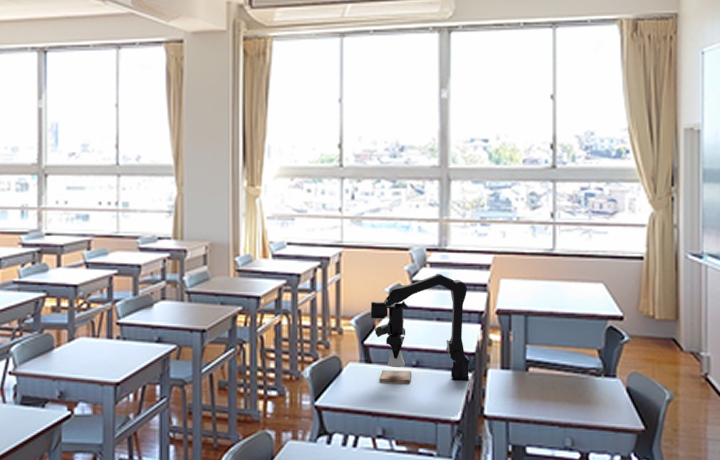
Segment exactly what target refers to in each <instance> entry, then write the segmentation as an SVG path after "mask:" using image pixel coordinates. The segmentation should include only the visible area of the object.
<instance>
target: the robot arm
mask: <svg viewBox="0 0 720 460" xmlns="http://www.w3.org/2000/svg"><path fill="white" fill-rule="evenodd" d="M436 286H437V287H438V286H442V287H444V288H446V289H447V290H450V296H451V301H452V315H451V336H450V339H448V340H446V349H445V350H446V352H447V353H448V355H449V358H450V359H451V361H452V365H451V368H450V369H451V371H450V377H451V378H452V380H453V381H469V380H470V379H469V378H470V376H469V364H470V363H471V361H470V359H469V358H468V356H467V355H466V354H465V348H464V343H463V339H462V337H463V335H462V334H463V311H464V302H465V299H466V296H467V291H468V289H467V288H468V287H467V285H466V284H465V283H464V282H463V281H462V280H460V279H452V278H449V277H448V276H444V275H443V274H442V273H436V274H435V275H433V276H430V277H427V278H424V279H421V280H419V281H416V282H412V283H411V284H410V283H409V284H406V285H398V286H393V287H391V288H390V289H389V290H388V295H387V296H386V297H385V299H384V301H380V302H379V301H371V302H370V303H371V306H370V319H371V320H377V319H378V320H384V319H385V318H386V317H388V322H387V323H386V324H382V325H380V326H377V327H375V328H374V332H375V335H376V337H377V338H380V337H381V336H383V335H388V336H387V337H386V341H385V344H386V345H389V346H390V347H391V352H392V351H393V355H394V358H395V359H397V357H398V354H399V352H400V351H401V349H402V346H403V343H404V341H405V337H406V329H405V328H404V321H405V320H404V309H408V307H409V305H408V304H406V303H405V300H406V299H408V298H409V297H411V296H413V295H415V294H417V293H420V292H423V291H426V290H428V289H430V288H431V289H432V288H434V287H436Z"/></svg>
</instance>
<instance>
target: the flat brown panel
mask: <svg viewBox="0 0 720 460" xmlns="http://www.w3.org/2000/svg"><path fill="white" fill-rule="evenodd" d="M411 379H412V371H411V370H386V369H385V370H384V369H383V370H382V371H381V373H380V376H379V383H383V384H384V383H385V384H387V383H388V384H391V383H392V384H411Z"/></svg>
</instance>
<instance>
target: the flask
mask: <svg viewBox="0 0 720 460" xmlns="http://www.w3.org/2000/svg"><path fill="white" fill-rule="evenodd" d="M403 357H404V356H403V354H402V351H401V350H400V352H399V354H398V357H397V359H395V358H394V355H393V351H392V350H391V353H390V356H389V360H388V362H387V366H388V367H393V368H401V367H405V365H406V363H405V360H404V358H403Z"/></svg>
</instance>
